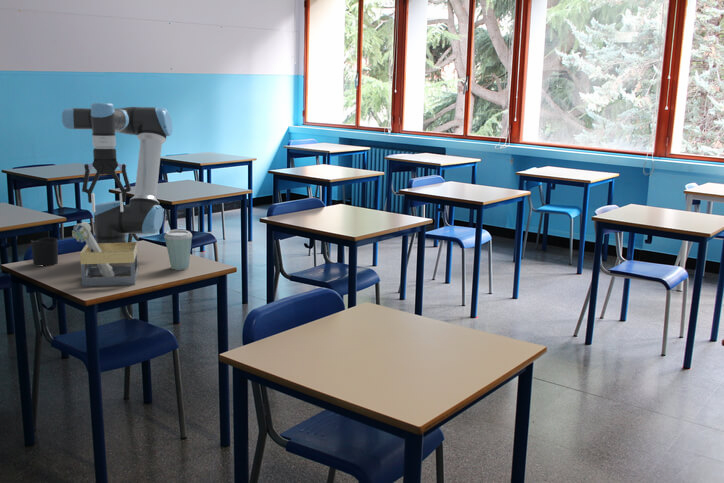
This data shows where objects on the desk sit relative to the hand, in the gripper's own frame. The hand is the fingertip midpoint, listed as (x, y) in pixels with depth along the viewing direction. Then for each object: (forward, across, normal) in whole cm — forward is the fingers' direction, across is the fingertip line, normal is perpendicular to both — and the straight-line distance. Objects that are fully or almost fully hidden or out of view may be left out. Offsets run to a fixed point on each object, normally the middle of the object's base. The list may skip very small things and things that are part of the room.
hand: (107, 211), depth 238 cm
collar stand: (+25, 0, 0) cm, 25 cm away
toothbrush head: (+25, -1, -1) cm, 25 cm away
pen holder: (+25, -27, +30) cm, 48 cm away
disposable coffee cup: (+25, +24, +13) cm, 37 cm away
